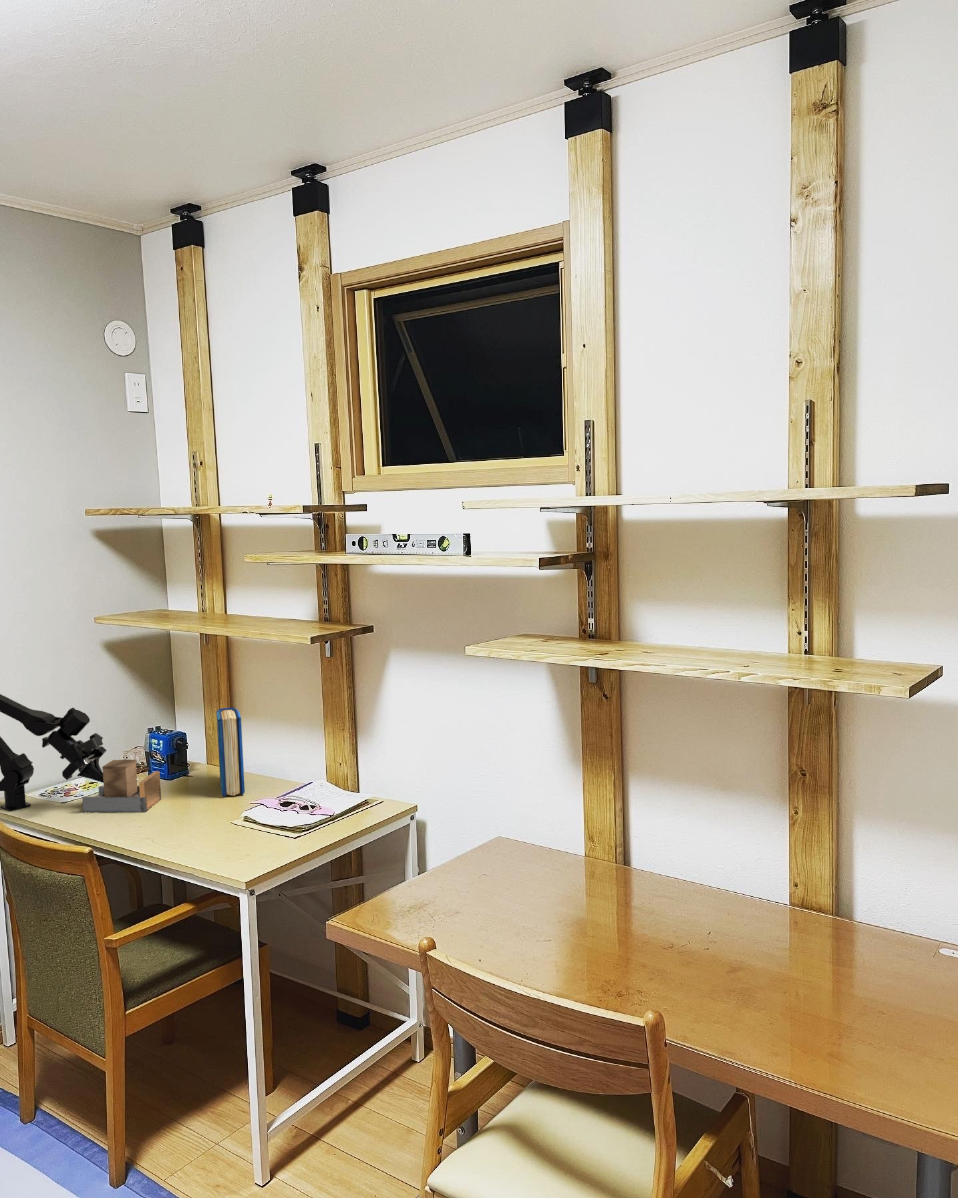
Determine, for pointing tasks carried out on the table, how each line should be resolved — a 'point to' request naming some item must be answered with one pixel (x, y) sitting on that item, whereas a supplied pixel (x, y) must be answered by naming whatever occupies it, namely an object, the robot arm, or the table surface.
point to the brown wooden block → (120, 778)
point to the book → (230, 751)
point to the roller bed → (127, 798)
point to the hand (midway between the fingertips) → (105, 781)
